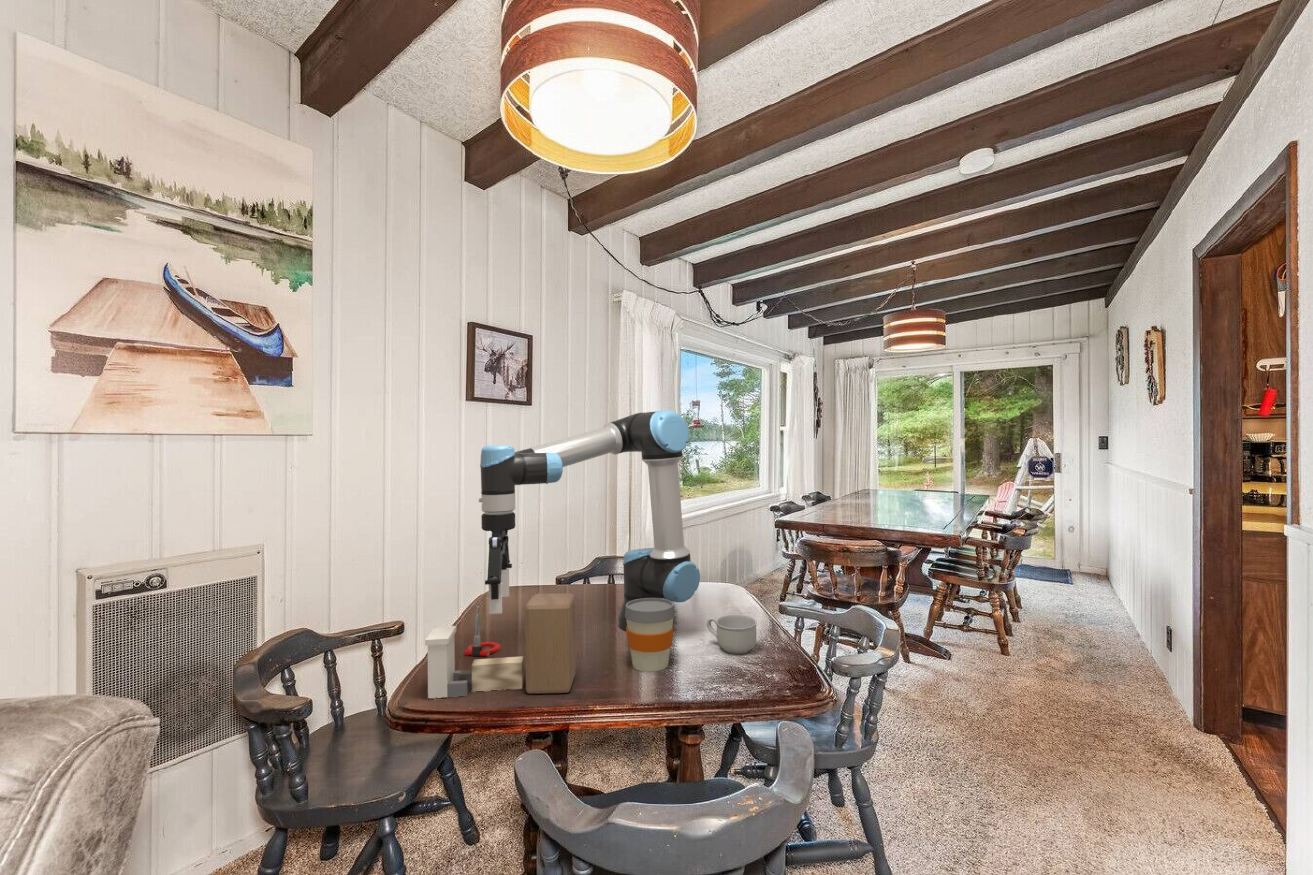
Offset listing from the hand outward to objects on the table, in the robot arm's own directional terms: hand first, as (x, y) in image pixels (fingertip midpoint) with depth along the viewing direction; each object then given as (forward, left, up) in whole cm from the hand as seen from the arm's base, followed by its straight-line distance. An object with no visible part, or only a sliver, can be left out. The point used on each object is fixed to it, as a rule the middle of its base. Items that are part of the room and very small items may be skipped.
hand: (499, 604), depth 129 cm
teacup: (-59, -14, -19) cm, 63 cm away
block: (-12, +2, -19) cm, 22 cm away
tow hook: (+8, -24, -19) cm, 32 cm away
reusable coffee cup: (-36, -7, -19) cm, 41 cm away
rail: (+2, 0, -19) cm, 19 cm away
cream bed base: (+11, 0, -19) cm, 22 cm away
